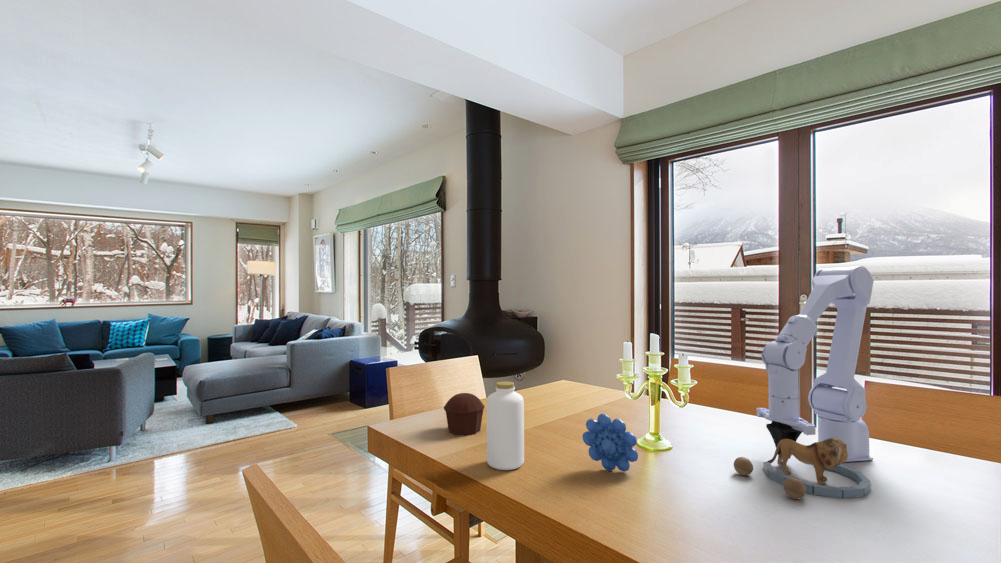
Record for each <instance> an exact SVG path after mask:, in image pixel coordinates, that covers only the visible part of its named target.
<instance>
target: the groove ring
mask: <svg viewBox="0 0 1001 563" xmlns="http://www.w3.org/2000/svg"><path fill="white" fill-rule="evenodd" d="M762 464H763V468H762V469H763V470H764V472H765V475H766V476H767V477H768V478H769V479H771V480H773V481H775V482H777V483H779V484H781V485H782V486H783V483H784V481H785V480H786V479H787V478H790V477H789V476H787V474H786V475H785V474H784V473H781V472H780V471H777V470H776V469H774V467H773V466H772V463H771V464H770V462H767V461H763V462H762ZM812 466H813V467H814V465H812ZM826 470H827V471H831V472H836V473H838V474H841V475H842V476H845V477H848V478H850V479H851V480H854V481H855V482H856V483H857V485H850V486H849V485H848V486H839V487H838V486H830V485H825V484H816V483H810V482H807V481H803V480H800V481H801V482H802V483H803V484H804V485H805V488H806V494H811V495H815V496H821V497H830V498H837V499H849V498H851V499H852V498H854V499H855V498H863V497H866V496H867V494H868V493H870V491H871V488H872V487H871V486H872V484H871V481H870V479H869V478H868V477H866V476H865V475H864V473H862V472H861V471H858V470H856V469H854V468H851V467H849V466H847V465H844V464H840V465H837V466H836V467H835V468H834V469H826Z"/></svg>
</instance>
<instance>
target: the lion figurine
mask: <svg viewBox="0 0 1001 563" xmlns="http://www.w3.org/2000/svg"><path fill="white" fill-rule="evenodd" d="M846 446H847V444H846V443H844V442H843V441H841V440H840V439H837V438H829V439H827V440H824V441H821V442H818V441H815V442H813V443H811V444H808V445H806V444H801V443H799V442H797V440H796V441H794V440H791V439H782V440H781V441H780V442H779V443H778V445H777V447H776V446H775V452H774V455H773V457H772V458H771V459H769V460H767V461H766V462H770V464H771V465H772V464H773V463H774V462H775V460H776V458H777V461H776V462H777V465H778V466H779V467H782V469H783V472H784V473H785V474H786V475H791V474H792V471H791V470H789V469H788V467H787V463H788V461H789V457H790V456H791V457H792V456H793V457H794V458H795V459H796V460H798V461H799V462H801V463H803V464H805V465H811V466H813V465H814V466H813V468H814V469H815V470H814V471H815V477H816V482H817V483H818V485H826V482H825V481H828V477H827V476H824V472H825V471H826V470H827V469H834V468H835V467H836V466H837V465H840V464H842V465H844V463H847V462H846V460H847V458H848V453H847V448H846ZM780 448H781V454H780V455H779V456H778V452H779V449H780ZM791 457H790V458H791Z"/></svg>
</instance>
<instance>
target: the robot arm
mask: <svg viewBox="0 0 1001 563" xmlns="http://www.w3.org/2000/svg"><path fill="white" fill-rule="evenodd" d="M874 281H875V280H874V278H873V276H872V275H871V272H870V271H869V269H868V268H867V267H865V266H863V265H857V266H846V267H845V266H844V267H830V268H829V267H828V268H827V267H822V268H818V269H817V270H816V272H815V274H814V277H812V278H811V285H812V290H811V292H810V293H809V296H808V297H807V299H806V301H805V303H804V305H803V307H802V308H801V311H800V313H799V314H796V315H792V316H790V317H789V318H788V320H787V322H786V324H785V325H783V328H782V329H781V330H780V332H779V334H778V335H777V336H776V338H775V340H773V341H769V342H768V343H767V344H765V345H764V347H763V349H762V353H761V355H760V357H761V360H762V362H763V363H764V365H765V372H766V373H767V374H768V376H767V378H768V382H767V384H768V387H767V388H768V408H766V407H756V410H755V411H756V417H757V418H758V417H759V418H764V419H765V420H767V421H771V422H770V423H766V425H765V426H766V429H767V430H768V432H769V434H770V435H771V438H772V440H773V443H774V445H775V448H776V447H777V445H778V443H779V442H780V441H781V440H782V439H791V440H794V441H796V442H797V440H798V439H799V437H800V436H801V434H802V433H803V434H804V435H806V436H816V433H817V436H818V437H817V442H821V441H824V440H827V439H829V438H837V439H840V440H841V441H843V442H844V443H846V444H847V446H846V448H847V453H848V458H847V460H846V462H845V463H848V462H849V463H850V462H863V461H864V462H865V461H873V460H874V457H872V456H870V431H869V428H868V426H867V424H866V422H865V421H864V420H863V419H862V418H863V416H865V414H866V411H867V402H866V401H867V400H866V391H867V390H866V389H865V388H864V387H863V385H862V384H860V383H859V381H857V380H856V379H855V374H856V369H857V363H858V359H859V353H860V347H861V340H862V335H863V329H864V325H865V324H864V323H865V319H866V314H867V308H868V305H870V302H871V297H872V291H873V288H874V287H873V286H874ZM830 305H834V306H835V307H836V309H837V311H836V318H835V323H834V329H833V334H832V339H831V343H830V350H829V355H828V361H827V366H826V370H825V373H822V374H821V375H819V376H817V377H816V378H814V380H813V384H812V387H811V388H810V391H809V392H808V398H807V400H808V403H809V407H810V408H811V409H812V410H814V414H815V415H817V432H816V425H815V424H813V423H810V422H808V420H805V419H804V418H802V417H800V393H799V392H800V389H799V388H800V387H799V386H800V385H799V384H800V383H799V376H800V375H799V369H801V368H802V367H803V366H804V365H805V363H806V357H807V356H806V354H807V352H808V351H807V350H808V348H807V346H808V345H809V344H810V342H811V340H812V338H814V336H815V334H816V333H817V332H818V326H817V323H816V322H817V321H818V320H819V318H820V317H821V316H822V315H823V313H824V312H825V311H826V310H827V309H828V307H829V306H830ZM844 389H845V390H844ZM780 454H781V448H780V449H779V452H778V454H777V457H778V456H779V455H780ZM791 457H792V456H790V457H789V459H791ZM789 459H788V460H789Z"/></svg>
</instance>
